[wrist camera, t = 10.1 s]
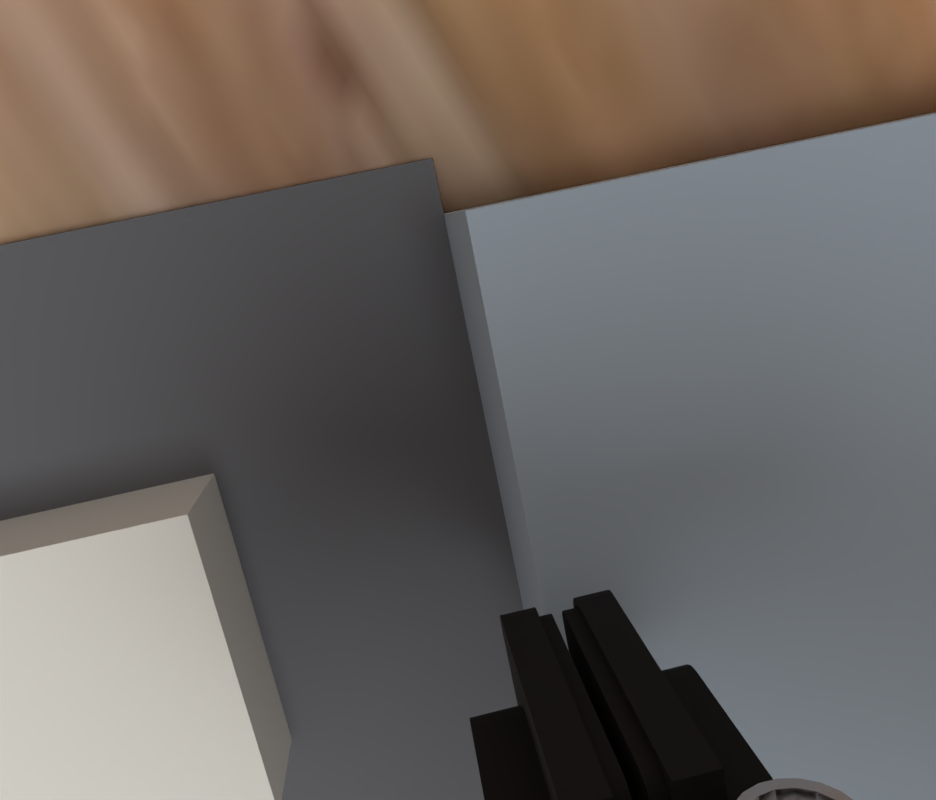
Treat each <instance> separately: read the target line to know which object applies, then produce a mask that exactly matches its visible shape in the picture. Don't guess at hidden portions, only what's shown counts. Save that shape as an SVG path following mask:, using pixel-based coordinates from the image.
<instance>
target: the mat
mask: <svg viewBox="0 0 936 800" xmlns="http://www.w3.org/2000/svg"><path fill="white" fill-rule="evenodd" d="M213 473H214V475H215V478H216V482H217V485H218V488H219V492H220V495H221V499H222V502H223V505H224V509H225V512H226V516H227V519H228V523H229V526H230V529H231V533H232V536H233V540H234V543H235V547H236V550H237V553H238V557H239V560H240V564H241V567H242V570H243V574H244V577H245V581H246V584H247V588H248V591H249V594H250V598H251V601H252V605H253V608H254V612H255V615H256V618H257V622H258V625H259V629H260V632H261V635H262V639H263V642H264V646H265V649H266V653H267V656H268V659H269V663H270V666H271V670H272V673H273V677H274V680H275V683H276V687H277V690H278V694H279V697H280V700H281V704H282V707H283V711H284V714H285V718H286V721H287V724H288V728H289V731H290V735H291V738H292V740H291V746H290V752H289V758H288V764H287V770H286V776H285V782H284V788H283V794H282V800H484V795H483V789H482V784H481V779H480V773H479V768H478V763H477V757H476V752H475V746H474V741H473V736H472V730H471V725H470V718H471V717H475V716H479V715H483V714H487V713H491V712H495V711H499V710H503V709H507V708H511V707H515V706H518V704H517V699H516V694H515V690H514V685H513V680H512V675H511V670H510V665H509V661H508V656H507V651H506V646H505V641H504V637H503V632H502V627H501V622H500V615H504V614H508V613H512V612H516V611H521V610H524V609H523V604H522V599H521V594H520V589H519V584H518V579H517V574H516V569H515V565H514V560H513V555H512V550H511V545H510V540H509V535H508V530H507V525H506V520H505V515H504V510H503V505H502V500H501V495H500V490H499V485H498V480H497V475H496V470H495V465H494V460H493V455H492V450H491V445H490V441H489V436H488V431H487V426H486V421H485V416H484V411H483V406H482V401H481V396H480V391H479V386H478V381H477V376H476V371H475V366H474V361H473V356H472V351H471V346H470V341H469V336H468V331H467V326H466V321H465V316H464V312H463V307H462V302H461V297H460V292H459V287H458V282H457V277H456V272H455V267H454V262H453V257H452V252H451V247H450V242H449V237H448V232H447V227H446V222H445V217H444V212H443V207H442V202H441V197H440V192H439V188H438V183H437V178H436V173H435V168H434V163H433V158H431V159H426V160H421V161H416V162H411V163H406V164H401V165H396V166H391V167H386V168H381V169H376V170H371V171H366V172H361V173H356V174H351V175H346V176H341V177H336V178H331V179H327V180H322V181H317V182H312V183H307V184H302V185H297V186H292V187H287V188H282V189H277V190H272V191H267V192H262V193H257V194H252V195H247V196H242V197H237V198H232V199H227V200H222V201H217V202H212V203H207V204H202V205H198V206H193V207H188V208H183V209H178V210H173V211H168V212H163V213H158V214H153V215H148V216H143V217H138V218H133V219H128V220H123V221H118V222H113V223H108V224H103V225H98V226H93V227H88V228H83V229H78V230H73V231H68V232H64V233H59V234H54V235H49V236H44V237H39V238H34V239H29V240H24V241H19V242H14V243H9V244H4V245H0V521H2V520H6V519H11V518H15V517H20V516H24V515H29V514H33V513H38V512H42V511H47V510H51V509H56V508H60V507H65V506H69V505H74V504H78V503H83V502H87V501H92V500H96V499H101V498H105V497H110V496H114V495H119V494H123V493H128V492H132V491H137V490H141V489H146V488H150V487H155V486H159V485H164V484H168V483H173V482H177V481H181V480H186V479H190V478H195V477H199V476H204V475H208V474H213Z"/></svg>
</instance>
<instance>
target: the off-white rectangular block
mask: <svg viewBox="0 0 936 800" xmlns="http://www.w3.org/2000/svg"><path fill="white" fill-rule="evenodd" d="M291 740H292V738H291V735H290V731H289V728H288V724H287V721H286V718H285V714H284V711H283V707H282V704H281V700H280V697H279V694H278V690H277V687H276V683H275V680H274V677H273V673H272V670H271V666H270V663H269V659H268V656H267V653H266V649H265V646H264V642H263V639H262V635H261V632H260V629H259V625H258V622H257V618H256V615H255V612H254V608H253V605H252V601H251V598H250V594H249V591H248V588H247V584H246V581H245V577H244V574H243V570H242V567H241V564H240V560H239V557H238V553H237V550H236V547H235V543H234V540H233V536H232V533H231V529H230V526H229V523H228V519H227V516H226V512H225V509H224V505H223V502H222V499H221V495H220V492H219V488H218V485H217V482H216V478H215V475H214V473H213V474H208V475H204V476H199V477H195V478H190V479H186V480H181V481H177V482H173V483H168V484H164V485H159V486H155V487H150V488H146V489H141V490H137V491H132V492H128V493H123V494H119V495H114V496H110V497H105V498H101V499H96V500H92V501H87V502H83V503H78V504H74V505H69V506H65V507H60V508H56V509H51V510H47V511H42V512H38V513H33V514H29V515H24V516H20V517H15V518H11V519H6V520H2V521H0V800H282V794H283V788H284V782H285V776H286V770H287V764H288V758H289V752H290V746H291Z"/></svg>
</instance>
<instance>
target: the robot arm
mask: <svg viewBox="0 0 936 800" xmlns="http://www.w3.org/2000/svg"><path fill="white" fill-rule="evenodd" d="M573 606H574V608H572V609H568V610H564V611H562V617H563V623H564V629H565V634H566V639H567V645H568V649H567V646H566V644H565V642H564V640H563V637H562V635H561V633H560V631H559V628H558V626H557V624H556V622H555V619H554V617H553V615H552V614H547V615H543V616H539V614H538V612H537V610H536V608H535V607H533V608H529V609H525V610H521V611H516V612H512V613H508V614H504V615H500V622H501V627H502V632H503V637H504V641H505V646H506V651H507V656H508V661H509V665H510V670H511V675H512V680H513V685H514V690H515V694H516V699H517V704H518V706H515V707H511V708H507V709H503V710H499V711H495V712H491V713H487V714H483V715H479V716H475V717H471V718H470V725H471V730H472V736H473V741H474V746H475V752H476V757H477V763H478V768H479V773H480V779H481V784H482V789H483V795H484V800H853V799H851V798H850V797H849V796H847V795H846V794H844V793H843V792H842V791H840V790H837V789H835V788H833V787H830V786H828V785H825V784H823V783H821V782H816V781H811V780H806V779H800V778H777V779H773V778H772V777H771V775H770V774H769V773H768V771H767V770H766V768H765V767H764V766H763V764H762V763H761V761H760V760H759V759H758V757H757V756H756V754H755V753H754V751H753V750H752V749H751V747H750V746H749V744H748V743H747V742H746V740H745V739H744V737H743V736H742V735H741V733H740V732H739V730H738V729H737V728H736V726H735V725H734V723H733V722H732V721H731V719H730V718H729V716H728V715H727V713H726V712H725V711H724V709H723V708H722V706H721V705H720V704H719V702H718V701H717V699H716V698H715V697H714V695H713V694H712V692H711V691H710V690H709V688H708V687H707V685H706V684H705V682H704V681H703V680H702V678H701V677H700V675H699V674H698V673H697V671H696V670H695V669H694V668H693V667H692V666H691V665H688V664H686V665H682V666H678V667H674V668H670V669H666V670H662V671H661V669H660V667H659V666H658V664H657V663H656V661H655V660H654V658H653V656H652V655H651V653H650V652H649V650H648V649H647V647H646V645H645V644H644V642H643V641H642V639H641V637H640V636H639V634H638V633H637V631H636V630H635V628H634V626H633V625H632V623H631V622H630V620H629V619H628V617H627V615H626V614H625V612H624V611H623V609H622V607H621V606H620V604H619V603H618V601H617V600H616V598H615V596H614V595H613V593H612V592H611V591H610V590H605V591H600V592H596V593H592V594H588V595H584V596H579V597H575V598H573ZM568 650H569V651H568Z"/></svg>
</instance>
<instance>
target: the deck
mask: <svg viewBox="0 0 936 800" xmlns="http://www.w3.org/2000/svg"><path fill="white" fill-rule="evenodd" d="M444 217H445V222H446V227H447V232H448V237H449V242H450V247H451V252H452V257H453V262H454V267H455V272H456V277H457V282H458V287H459V292H460V297H461V302H462V307H463V312H464V316H465V321H466V326H467V331H468V336H469V341H470V346H471V351H472V356H473V361H474V366H475V371H476V376H477V381H478V386H479V391H480V396H481V401H482V406H483V411H484V416H485V421H486V426H487V431H488V436H489V441H490V445H491V450H492V455H493V460H494V465H495V470H496V475H497V480H498V485H499V490H500V495H501V500H502V505H503V510H504V515H505V520H506V525H507V530H508V535H509V540H510V545H511V550H512V555H513V560H514V565H515V569H516V574H517V579H518V584H519V589H520V594H521V599H522V604H523V609H524V610H525V609H529V608H533V607H535V608H536V610H537V612H538V614H539V616H543V615H547V614H552V615H553V617H554V619H555V622H556V624H557V626H558V628H559V631H560V633H561V635H562V637H563V640H564V642H565V644H566V646H567V649H568V645H567V639H566V634H565V629H564V623H563V617H562V611H564V610H568V609H572V608H574V606H573V598H575V597H579V596H584V595H588V594H592V593H596V592H600V591H605V590H610V591H611V592H612V593H613V595H614V596H615V598H616V600H617V601H618V603H619V604H620V606H621V607H622V609H623V611H624V612H625V614H626V615H627V617H628V619H629V620H630V622H631V623H632V625H633V626H634V628H635V630H636V631H637V633H638V634H639V636H640V637H641V639H642V641H643V642H644V644H645V645H646V647H647V649H648V650H649V652H650V653H651V655H652V656H653V658H654V660H655V661H656V663H657V664H658V666H659V667H660V669H661V671H662V670H666V669H670V668H674V667H678V666H682V665H686V664H688V665H691V666H692V667H693V668H694V669H695V670H696V671H697V673H698V674H699V675H700V677H701V678H702V680H703V681H704V682H705V684H706V685H707V687H708V688H709V690H710V691H711V692H712V694H713V695H714V697H715V698H716V699H717V701H718V702H719V704H720V705H721V706H722V708H723V709H724V711H725V712H726V713H727V715H728V716H729V718H730V719H731V721H732V722H733V723H734V725H735V726H736V728H737V729H738V730H739V732H740V733H741V735H742V736H743V737H744V739H745V740H746V742H747V743H748V744H749V746H750V747H751V749H752V750H753V751H754V753H755V754H756V756H757V757H758V759H759V760H760V761H761V763H762V764H763V766H764V767H765V768H766V770H767V771H768V773H769V774H770V775H771V777H772V778H773V779H777V778H800V779H806V780H811V781H816V782H821V783H823V784H825V785H828V786H830V787H833V788H835V789H837V790H840V791H842V792H843V793H844V794H846V795H847V796H849V797H850V798H851V799H853V800H936V112H934V113H929V114H924V115H919V116H914V117H909V118H904V119H900V120H895V121H890V122H885V123H880V124H875V125H870V126H866V127H861V128H856V129H851V130H846V131H841V132H837V133H832V134H827V135H822V136H817V137H812V138H807V139H803V140H798V141H793V142H788V143H783V144H778V145H773V146H769V147H764V148H759V149H754V150H749V151H744V152H740V153H735V154H730V155H725V156H720V157H715V158H710V159H706V160H701V161H696V162H691V163H686V164H681V165H677V166H672V167H667V168H662V169H657V170H652V171H647V172H643V173H638V174H633V175H628V176H623V177H618V178H613V179H609V180H604V181H599V182H594V183H589V184H584V185H580V186H575V187H570V188H565V189H560V190H555V191H550V192H546V193H541V194H536V195H531V196H526V197H521V198H516V199H512V200H507V201H502V202H497V203H492V204H487V205H483V206H478V207H473V208H468V209H463V210H458V211H453V212H449V213H444ZM568 651H569V650H568Z"/></svg>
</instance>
